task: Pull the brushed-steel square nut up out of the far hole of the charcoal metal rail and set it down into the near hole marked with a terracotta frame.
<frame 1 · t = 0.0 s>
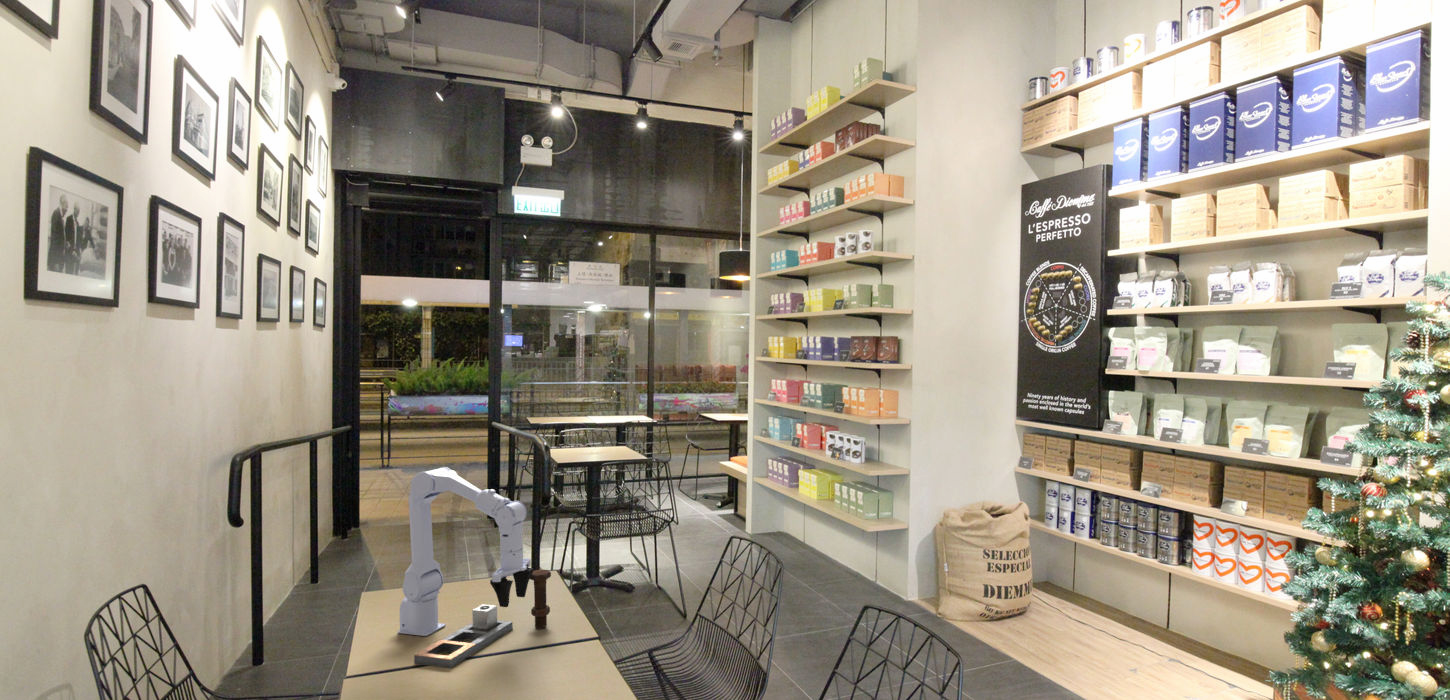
hand: (512, 601, 190), 10 cm above the table, tool pointing down, fingers open, 7 cm apart
steel nut: (485, 634, 195), resting in rail
bolt: (540, 627, 199), on the table
rail: (466, 645, 187), on the table
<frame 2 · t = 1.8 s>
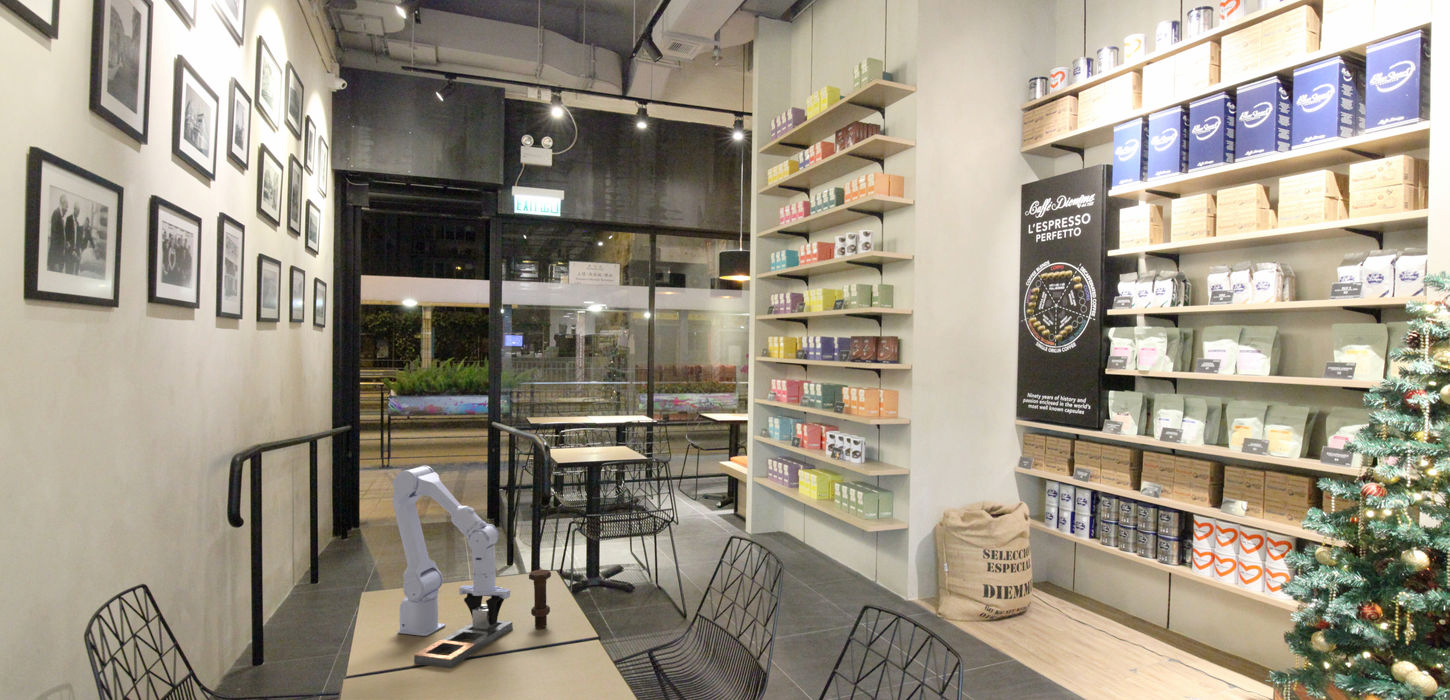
hand: (485, 622, 195), 3 cm above the table, tool pointing down, fingers closed on steel nut, 4 cm apart
steel nut: (485, 633, 195), resting in rail, touching gripper
everything else where it was.
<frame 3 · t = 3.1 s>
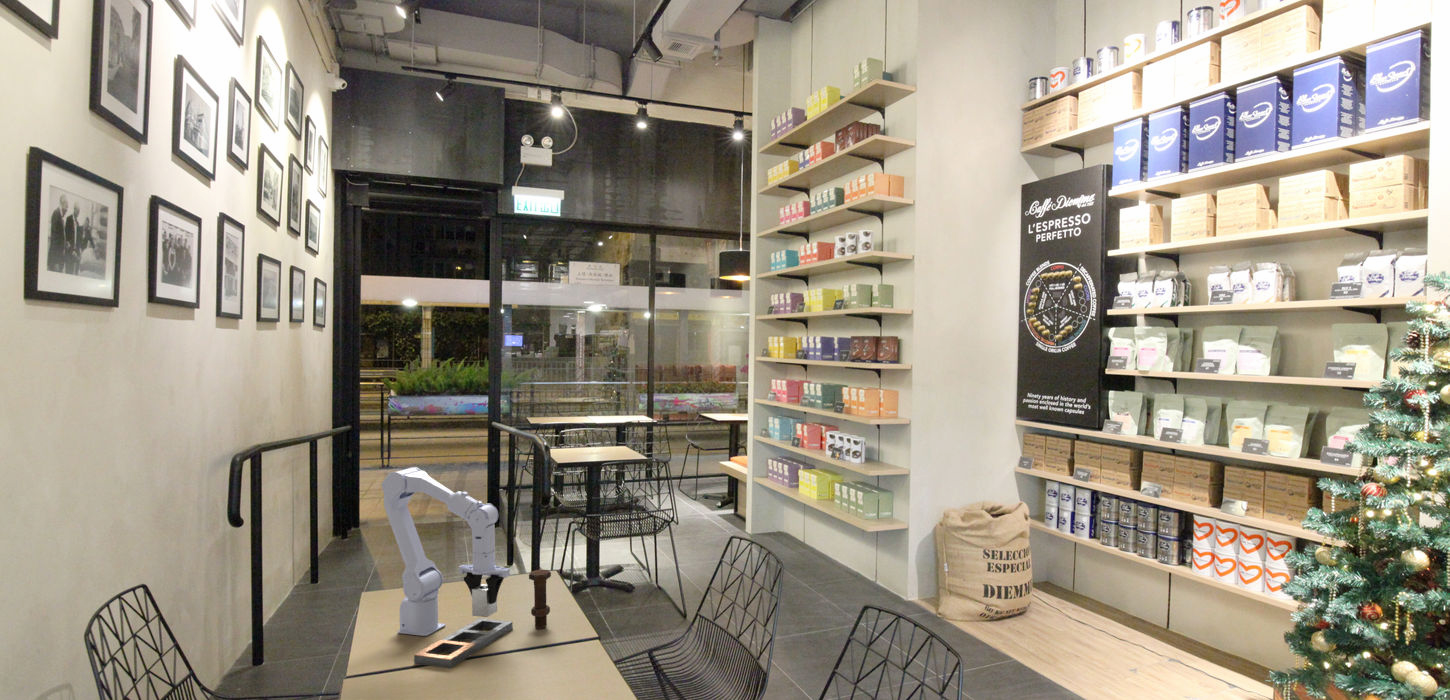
hand: (484, 602, 195), 8 cm above the table, tool pointing down, fingers closed on steel nut, 4 cm apart
steel nut: (484, 613, 195), point 5 cm above the table, touching gripper
everything else where it was.
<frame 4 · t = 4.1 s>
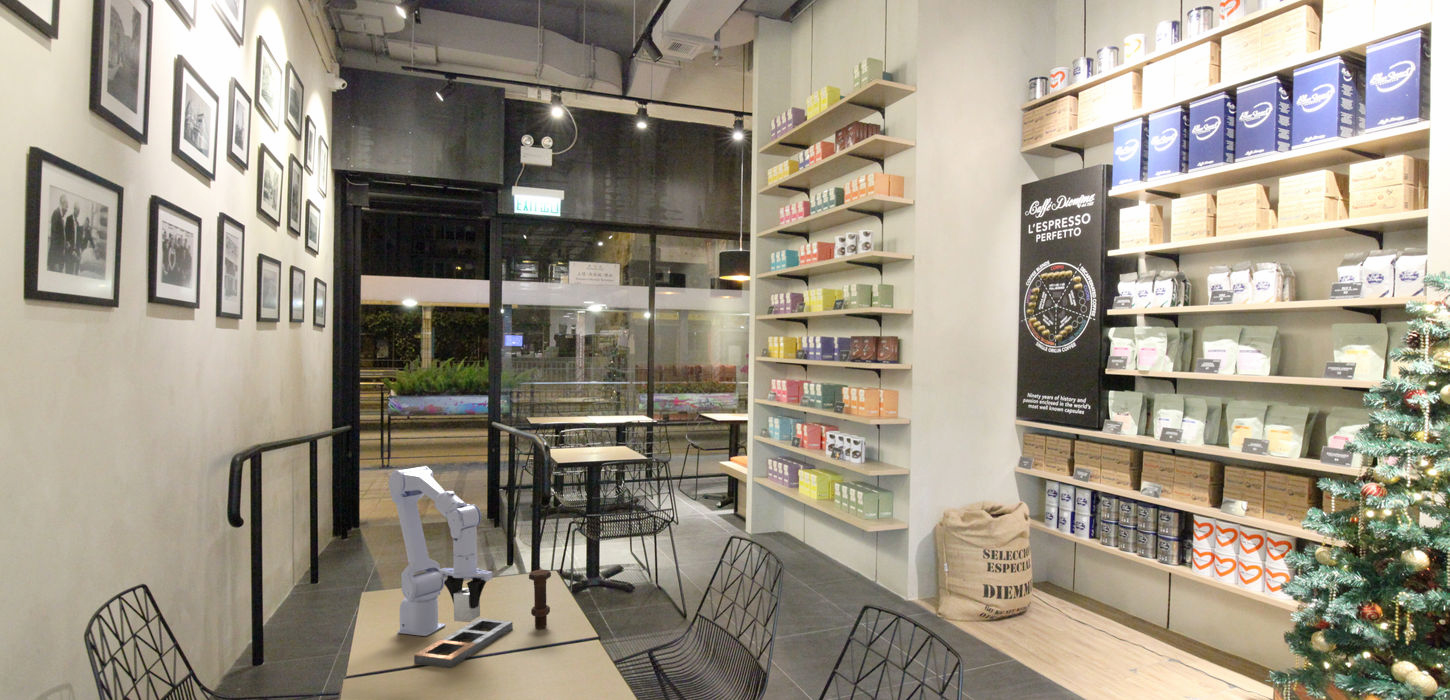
hand: (466, 606, 188), 10 cm above the table, tool pointing down, fingers closed on steel nut, 4 cm apart
steel nut: (467, 618, 188), point 7 cm above the table, touching gripper
everything else where it was.
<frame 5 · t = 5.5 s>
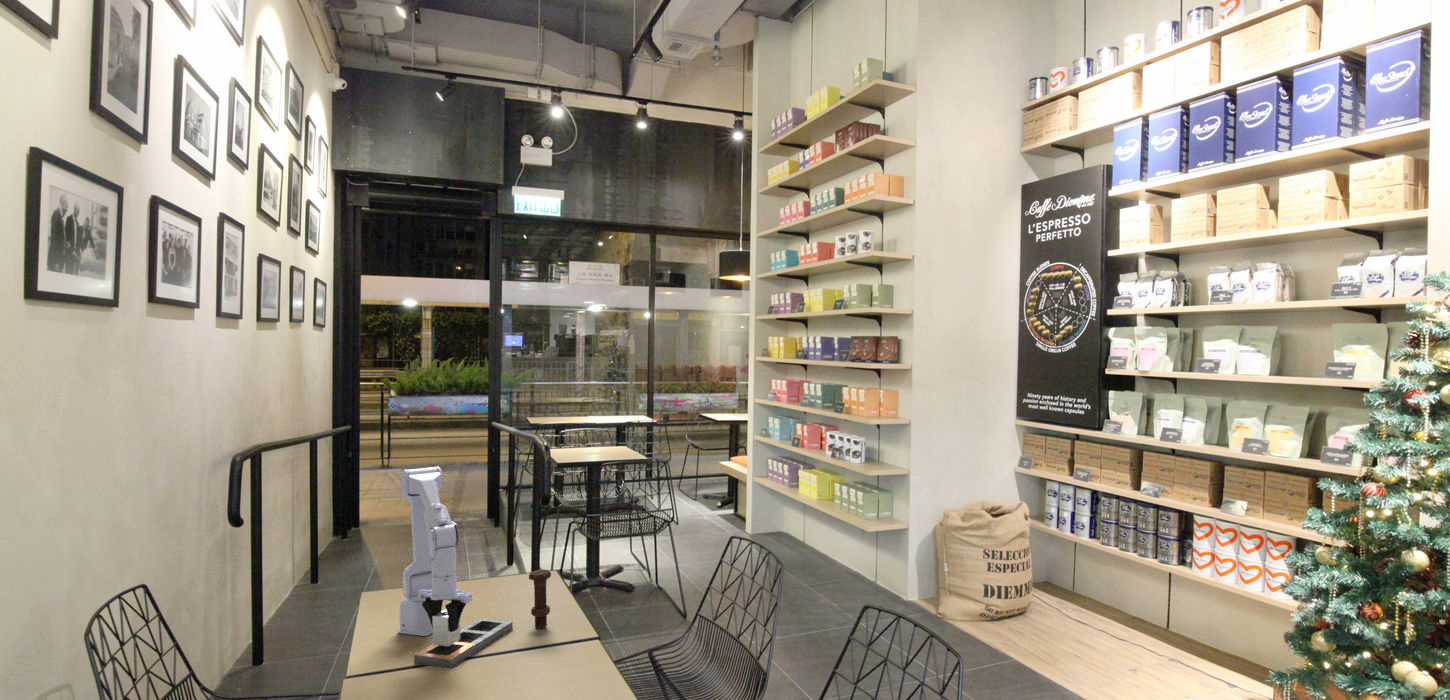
hand: (445, 629, 180), 7 cm above the table, tool pointing down, fingers closed on steel nut, 4 cm apart
steel nut: (446, 641, 180), point 4 cm above the table, touching gripper
everything else where it was.
when the fingers open (4 cm above the table, at t = 6.7 s): steel nut stays where it is, resting in rail.
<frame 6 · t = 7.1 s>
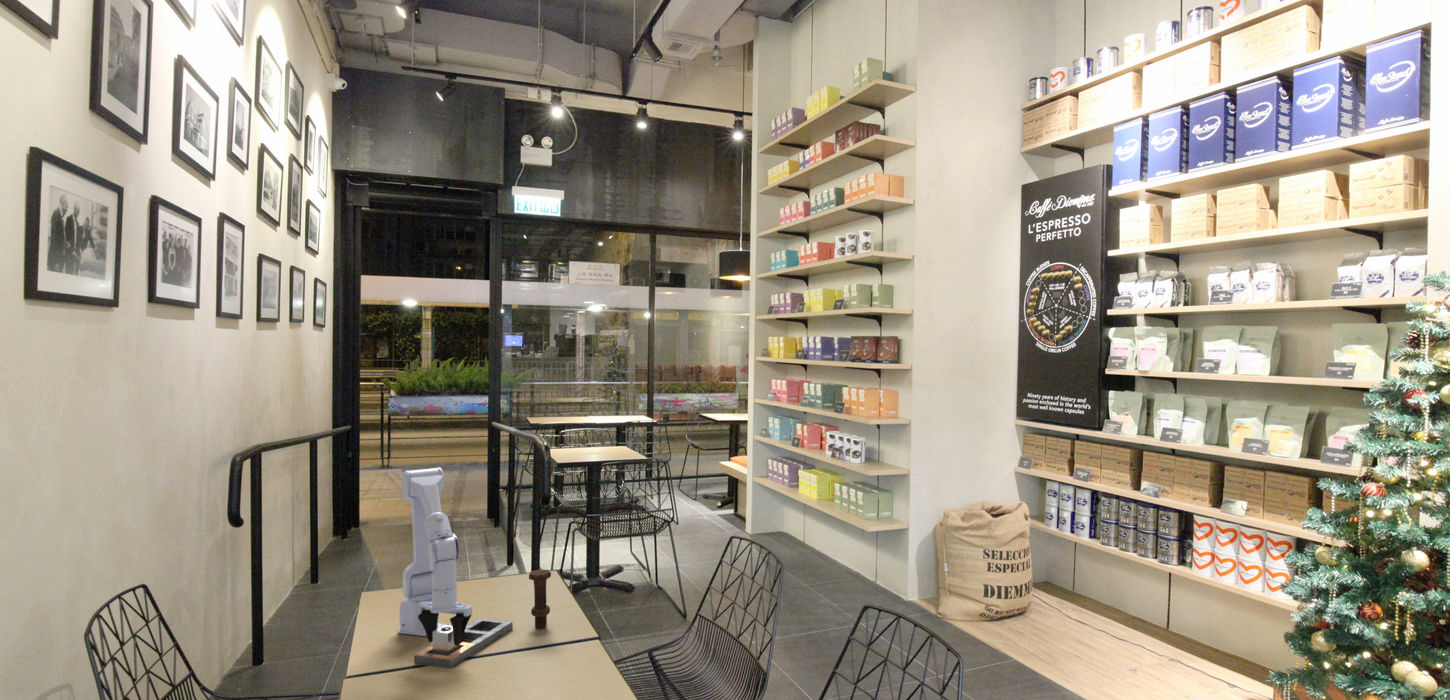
hand: (445, 642, 180), 4 cm above the table, tool pointing down, fingers open, 7 cm apart
steel nut: (446, 657, 180), resting in rail
everything else where it was.
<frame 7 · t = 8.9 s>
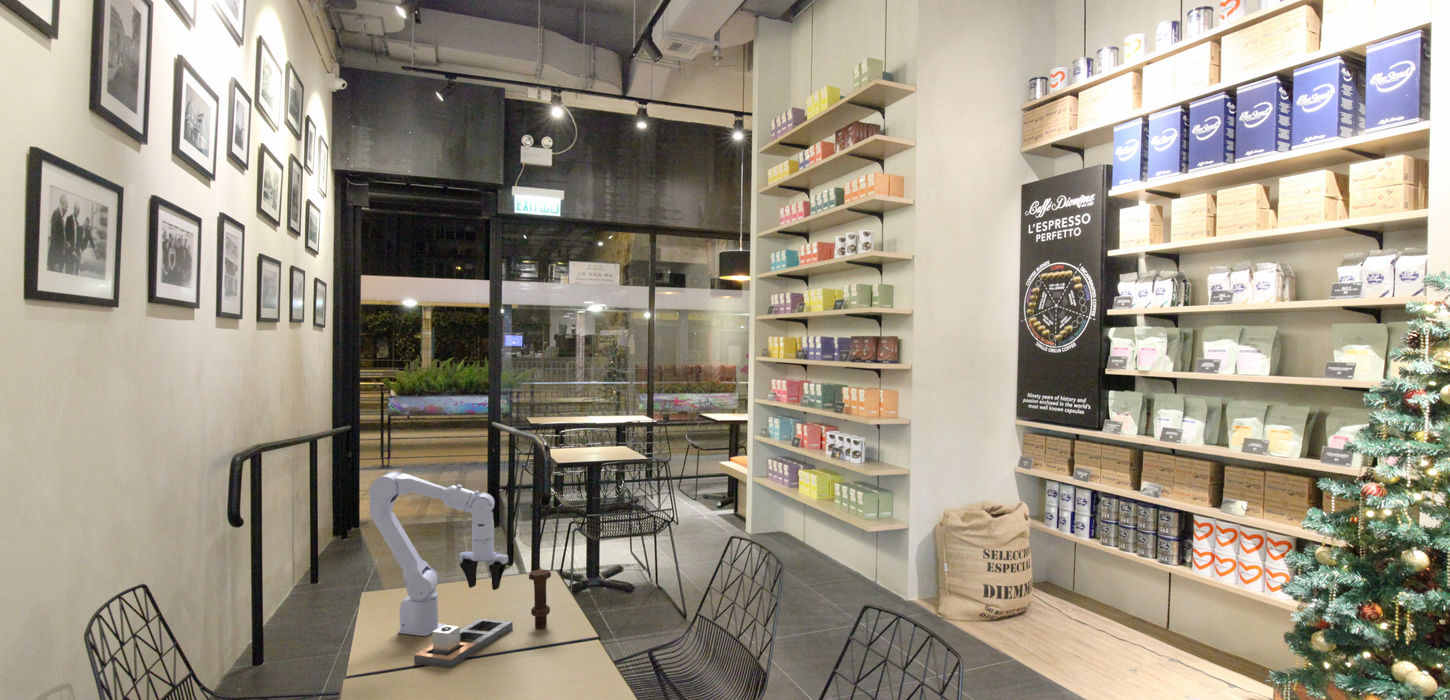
hand: (484, 587, 201), 10 cm above the table, tool pointing down, fingers open, 7 cm apart
nothing on the table moved.
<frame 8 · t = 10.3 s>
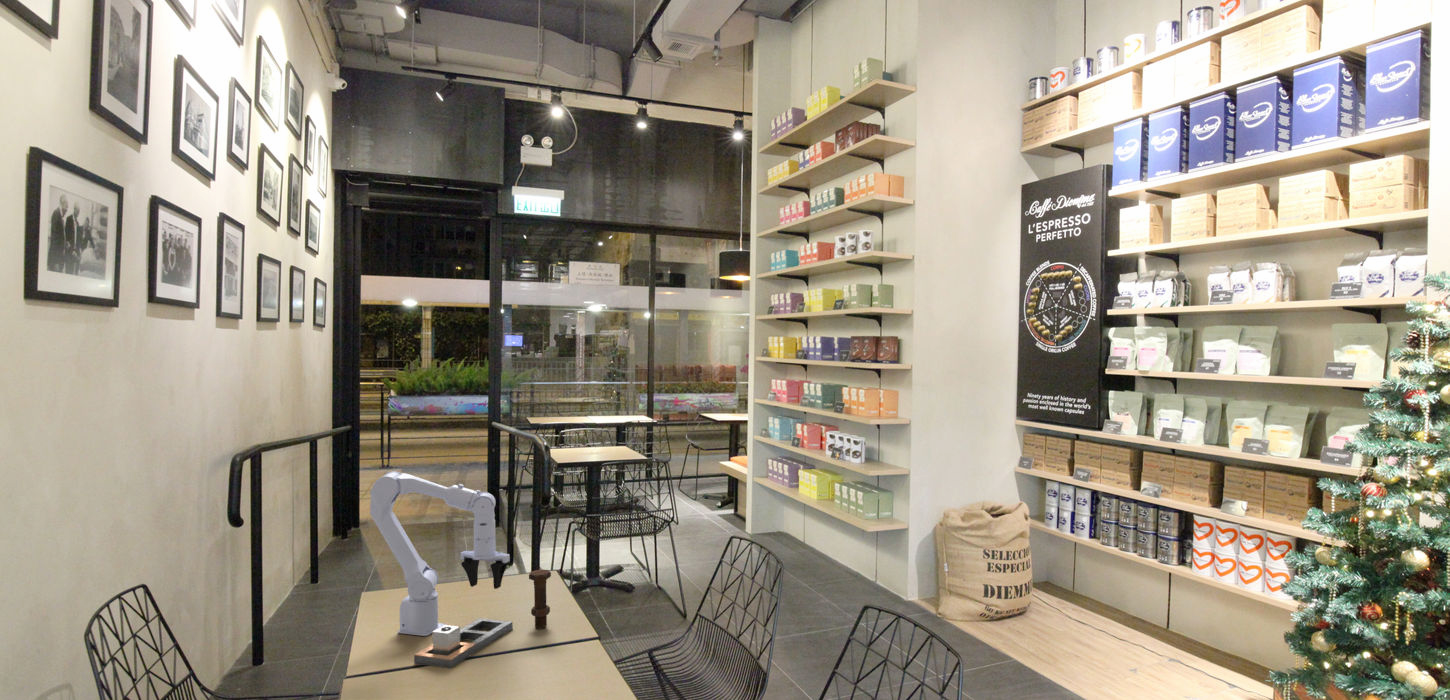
hand: (485, 586, 202), 10 cm above the table, tool pointing down, fingers open, 7 cm apart
nothing on the table moved.
at the end: steel nut 0.5 cm from the target spot on the rail, point 0.0 cm above the rail's base; steel nut tilted 0°; the gripper is holding nothing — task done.
